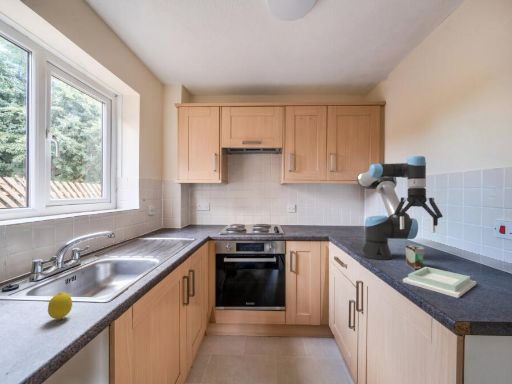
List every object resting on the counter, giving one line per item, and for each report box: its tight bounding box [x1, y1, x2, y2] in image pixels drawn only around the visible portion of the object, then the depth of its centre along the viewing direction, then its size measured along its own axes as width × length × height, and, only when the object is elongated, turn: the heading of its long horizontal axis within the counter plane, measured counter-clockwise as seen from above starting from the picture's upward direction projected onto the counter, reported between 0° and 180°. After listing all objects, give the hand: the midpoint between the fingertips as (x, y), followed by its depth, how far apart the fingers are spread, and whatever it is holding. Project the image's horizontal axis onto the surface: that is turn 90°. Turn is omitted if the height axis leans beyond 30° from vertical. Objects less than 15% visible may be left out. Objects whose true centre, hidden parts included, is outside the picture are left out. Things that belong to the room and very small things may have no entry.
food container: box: [404, 243, 426, 271], centre depth 116 cm, size 12×6×10 cm, turn 168°
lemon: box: [47, 292, 73, 321], centre depth 69 cm, size 6×6×8 cm
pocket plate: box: [402, 266, 477, 299], centre depth 96 cm, size 18×21×3 cm
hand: (416, 230), depth 116 cm, fingers open, 13 cm apart
